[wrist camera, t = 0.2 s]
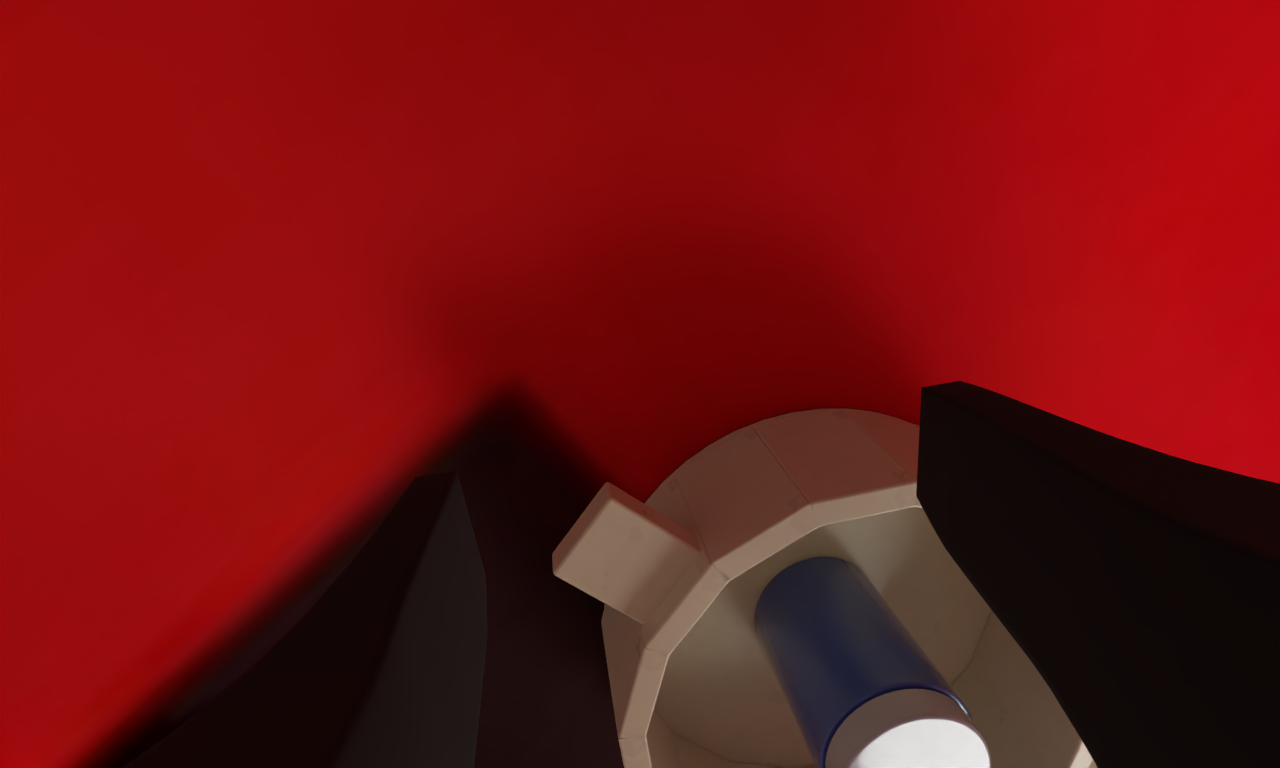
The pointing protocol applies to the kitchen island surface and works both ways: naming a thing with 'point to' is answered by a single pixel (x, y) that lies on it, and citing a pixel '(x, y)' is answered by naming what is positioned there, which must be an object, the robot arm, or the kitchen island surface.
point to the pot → (750, 558)
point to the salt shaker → (859, 674)
